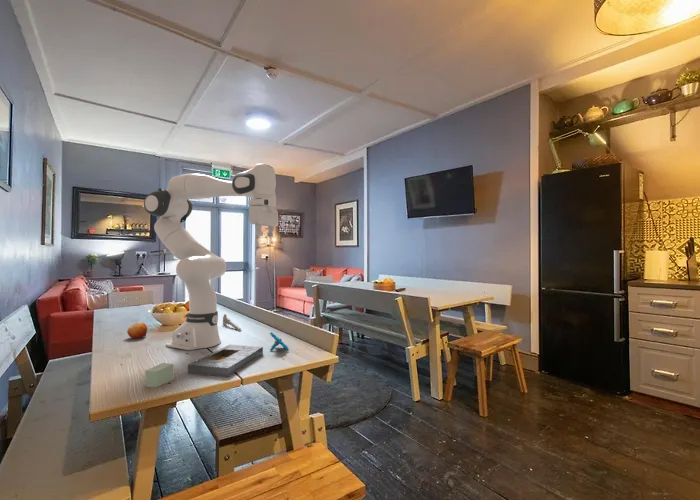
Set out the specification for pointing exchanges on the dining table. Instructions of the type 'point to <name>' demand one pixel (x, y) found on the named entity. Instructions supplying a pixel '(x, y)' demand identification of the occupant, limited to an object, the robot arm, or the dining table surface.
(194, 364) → the pocket plate
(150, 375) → the block
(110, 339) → the dining table surface
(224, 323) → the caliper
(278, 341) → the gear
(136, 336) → the fruit
